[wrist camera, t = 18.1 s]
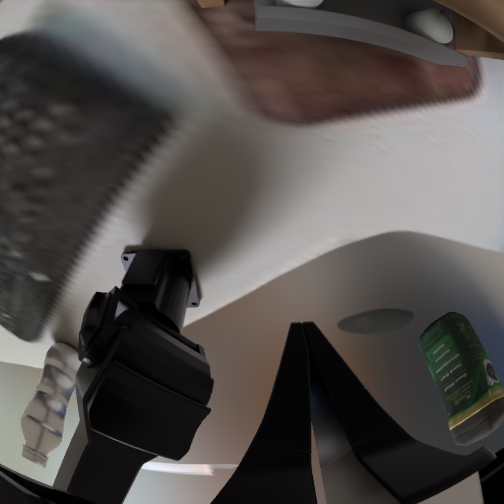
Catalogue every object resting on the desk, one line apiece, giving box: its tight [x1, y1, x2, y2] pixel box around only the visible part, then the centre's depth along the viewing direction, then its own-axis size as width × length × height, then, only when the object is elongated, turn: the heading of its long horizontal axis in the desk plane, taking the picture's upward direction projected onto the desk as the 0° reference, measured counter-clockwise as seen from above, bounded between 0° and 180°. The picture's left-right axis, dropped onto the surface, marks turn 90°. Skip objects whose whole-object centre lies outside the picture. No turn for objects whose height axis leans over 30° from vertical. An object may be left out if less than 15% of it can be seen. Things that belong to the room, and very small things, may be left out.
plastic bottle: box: [21, 343, 82, 468], centre depth 25 cm, size 6×7×20 cm
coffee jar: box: [418, 312, 504, 446], centre depth 24 cm, size 10×8×19 cm
